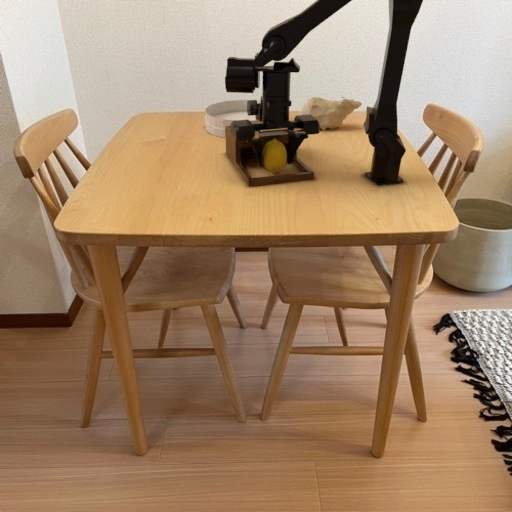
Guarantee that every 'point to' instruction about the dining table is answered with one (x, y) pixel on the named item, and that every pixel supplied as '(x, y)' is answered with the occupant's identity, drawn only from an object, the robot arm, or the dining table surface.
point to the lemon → (274, 156)
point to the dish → (226, 116)
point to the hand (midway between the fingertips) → (274, 165)
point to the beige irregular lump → (329, 110)
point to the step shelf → (242, 147)
